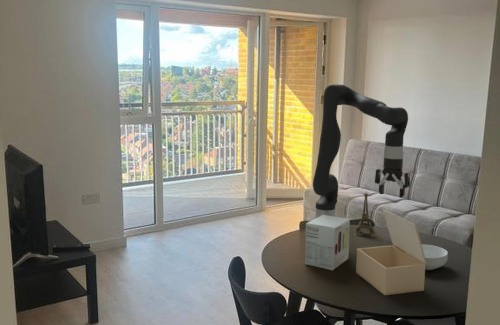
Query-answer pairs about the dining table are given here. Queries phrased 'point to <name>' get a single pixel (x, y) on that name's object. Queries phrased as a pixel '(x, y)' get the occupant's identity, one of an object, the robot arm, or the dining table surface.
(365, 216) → the eiffel tower
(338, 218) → the supplement box
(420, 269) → the mailer box
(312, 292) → the dining table surface
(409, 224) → the mailer lid
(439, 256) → the cereal bowl
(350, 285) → the dining table surface
